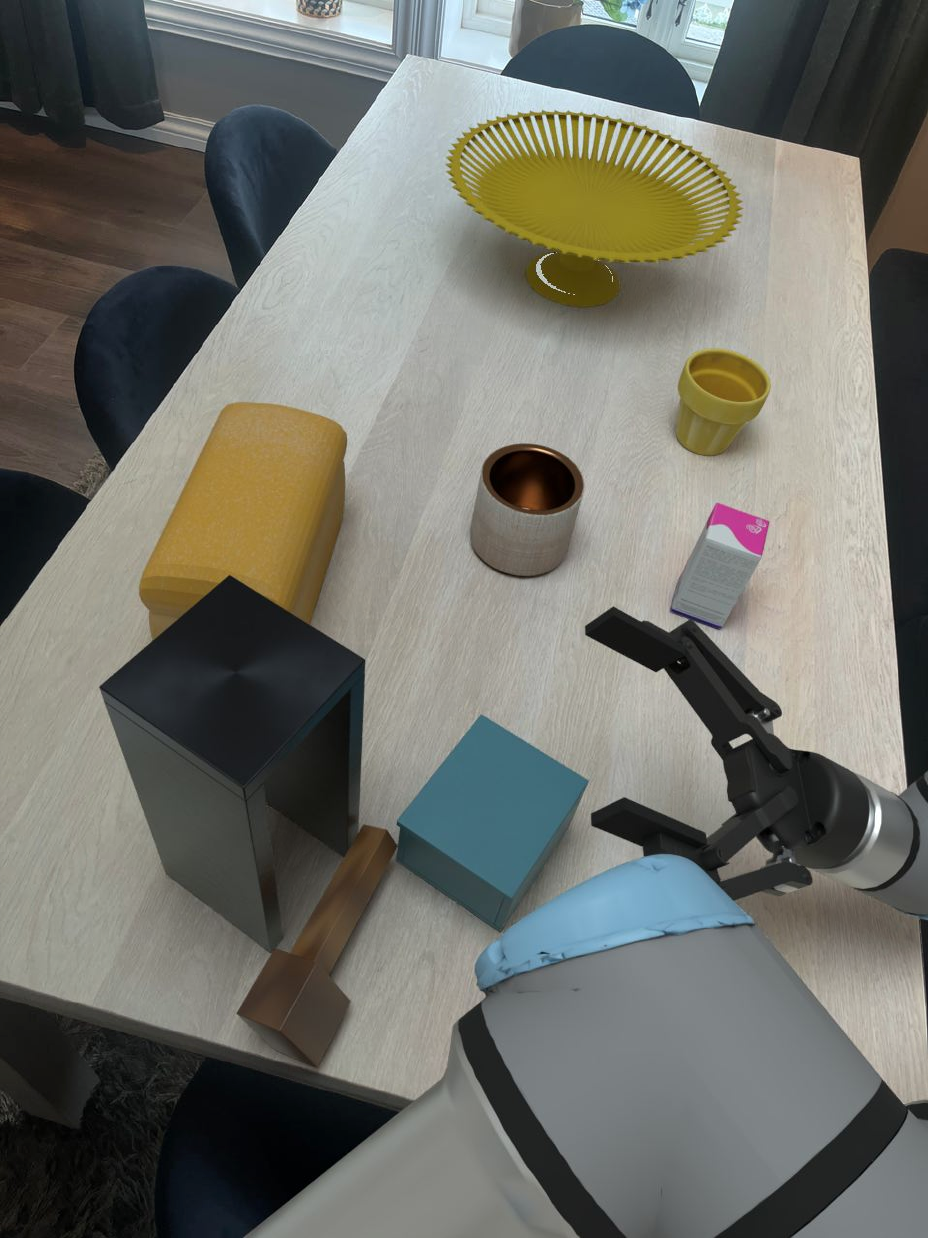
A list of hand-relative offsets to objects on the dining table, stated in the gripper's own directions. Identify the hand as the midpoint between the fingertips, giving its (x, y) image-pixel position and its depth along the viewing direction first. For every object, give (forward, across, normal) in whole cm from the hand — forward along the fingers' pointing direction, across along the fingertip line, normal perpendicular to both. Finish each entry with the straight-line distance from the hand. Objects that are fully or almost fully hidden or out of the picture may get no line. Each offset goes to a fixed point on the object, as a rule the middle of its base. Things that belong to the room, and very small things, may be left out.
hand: (602, 708), depth 56 cm
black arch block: (+5, 0, -35) cm, 35 cm away
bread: (+10, +29, -38) cm, 49 cm away
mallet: (+2, -6, -30) cm, 30 cm away
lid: (-6, +3, -19) cm, 20 cm away
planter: (-12, +39, -25) cm, 48 cm away
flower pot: (-32, +60, -13) cm, 70 cm away
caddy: (-10, +3, -26) cm, 28 cm away
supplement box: (-30, +33, -15) cm, 47 cm away
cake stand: (-18, +93, -21) cm, 97 cm away
